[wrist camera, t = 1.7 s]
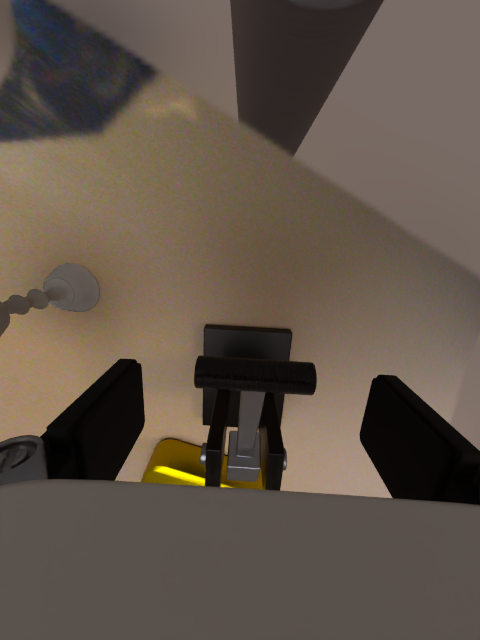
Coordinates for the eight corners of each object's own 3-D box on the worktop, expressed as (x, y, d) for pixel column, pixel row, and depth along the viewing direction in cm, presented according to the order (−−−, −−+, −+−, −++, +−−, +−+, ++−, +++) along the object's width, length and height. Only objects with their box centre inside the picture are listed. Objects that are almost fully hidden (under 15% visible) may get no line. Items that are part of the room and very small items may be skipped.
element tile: (272, 468, 33) (276, 506, 28) (232, 542, 37) (229, 584, 33) (160, 433, 31) (145, 466, 27) (132, 513, 36) (115, 553, 31)
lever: (200, 341, 12) (190, 385, 10) (311, 348, 12) (321, 394, 10) (210, 444, 20) (205, 478, 18) (275, 448, 20) (277, 483, 18)
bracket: (205, 324, 27) (172, 395, 15) (290, 329, 27) (327, 405, 15) (204, 418, 31) (176, 537, 18) (278, 423, 31) (300, 545, 18)
